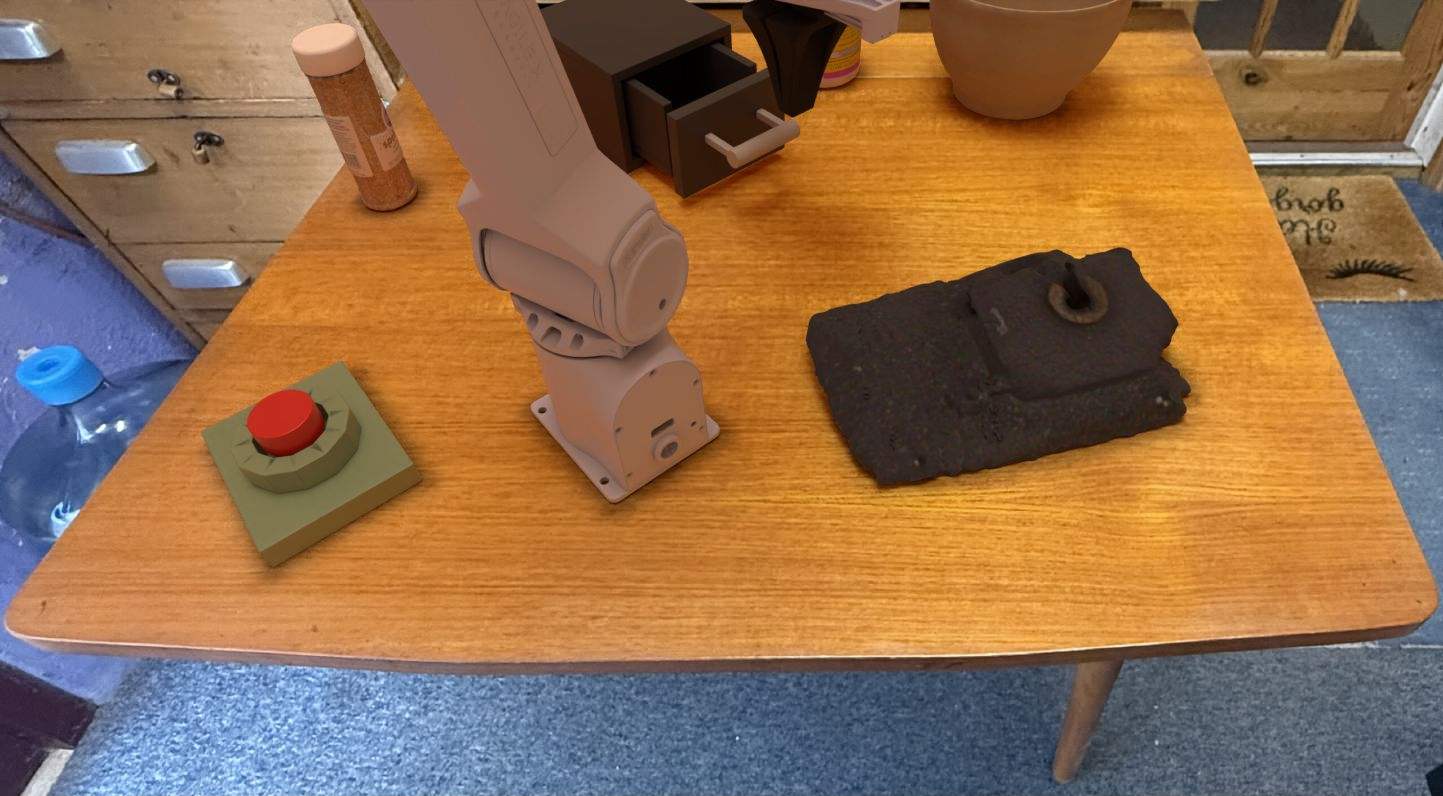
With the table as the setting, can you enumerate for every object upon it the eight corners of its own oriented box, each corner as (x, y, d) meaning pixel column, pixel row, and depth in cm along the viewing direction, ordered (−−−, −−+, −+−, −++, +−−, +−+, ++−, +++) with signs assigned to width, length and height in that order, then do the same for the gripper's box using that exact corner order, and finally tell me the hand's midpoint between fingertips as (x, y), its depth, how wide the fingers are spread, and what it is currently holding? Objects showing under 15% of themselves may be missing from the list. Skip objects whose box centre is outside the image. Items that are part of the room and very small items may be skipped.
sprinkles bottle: (426, 199, 68) (364, 37, 57) (372, 220, 66) (298, 58, 56) (408, 173, 70) (344, 14, 60) (355, 193, 69) (281, 33, 59)
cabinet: (735, 121, 73) (731, 24, 66) (627, 173, 68) (610, 75, 62) (646, 66, 80) (634, -26, 74) (543, 110, 76) (521, 16, 69)
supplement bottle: (868, 61, 78) (880, -87, 69) (846, 96, 75) (855, -56, 65) (801, 51, 80) (804, -95, 71) (776, 84, 77) (775, -65, 67)
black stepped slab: (782, 321, 56) (782, 267, 52) (1079, 256, 59) (1098, 200, 55) (863, 504, 46) (870, 452, 43) (1216, 415, 49) (1251, 359, 45)
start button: (334, 434, 48) (322, 415, 46) (273, 467, 46) (258, 448, 45) (312, 398, 49) (299, 379, 48) (252, 429, 48) (237, 410, 47)
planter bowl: (1084, 49, 78) (1120, -77, 69) (1120, 145, 67) (1167, 10, 59) (910, 50, 79) (925, -73, 71) (918, 143, 69) (936, 12, 61)
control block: (423, 480, 49) (402, 444, 46) (273, 568, 45) (241, 534, 43) (351, 377, 55) (329, 339, 52) (214, 448, 51) (183, 412, 49)
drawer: (820, 169, 66) (823, 89, 61) (717, 224, 62) (712, 144, 57) (692, 91, 75) (686, 16, 70) (596, 135, 71) (581, 59, 66)
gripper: (951, -105, 43) (918, 128, 54) (769, -162, 51) (771, 51, 61) (853, -66, 41) (839, 172, 51) (677, -133, 48) (695, 85, 59)
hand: (796, 109), depth 56 cm, fingers closed
